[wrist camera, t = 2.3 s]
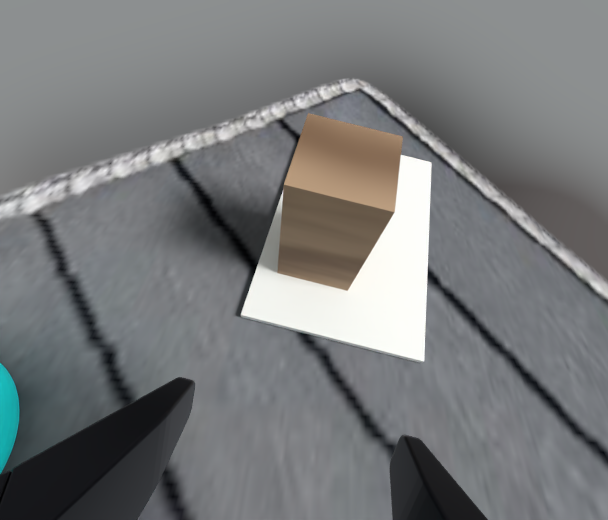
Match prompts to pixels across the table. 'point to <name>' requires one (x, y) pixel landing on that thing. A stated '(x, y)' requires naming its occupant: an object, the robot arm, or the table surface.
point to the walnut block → (336, 200)
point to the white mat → (359, 282)
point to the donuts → (7, 415)
